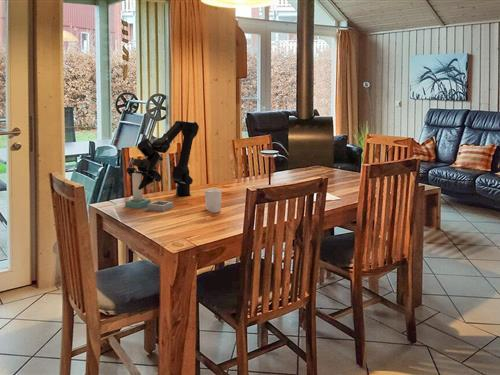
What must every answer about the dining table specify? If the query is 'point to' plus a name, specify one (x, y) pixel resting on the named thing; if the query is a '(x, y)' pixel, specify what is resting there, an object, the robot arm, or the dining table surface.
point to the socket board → (149, 205)
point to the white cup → (213, 199)
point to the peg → (136, 183)
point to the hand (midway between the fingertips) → (135, 188)
